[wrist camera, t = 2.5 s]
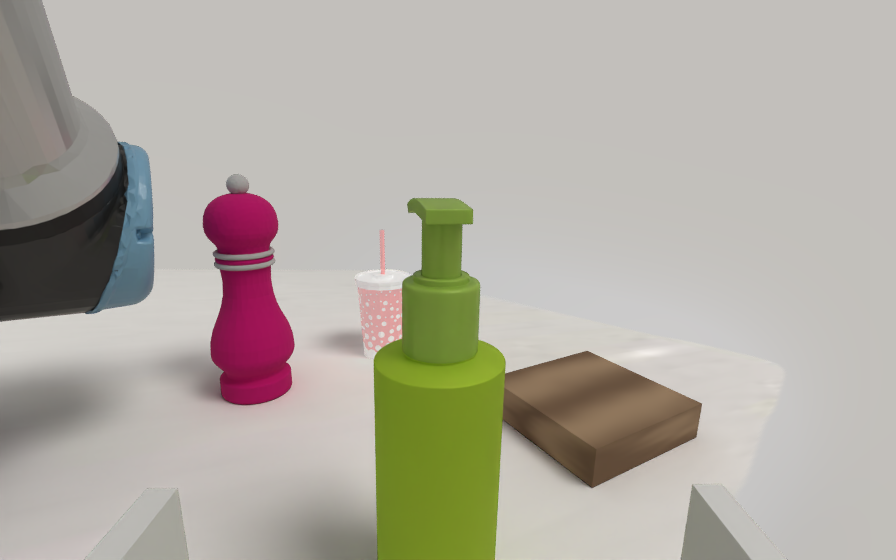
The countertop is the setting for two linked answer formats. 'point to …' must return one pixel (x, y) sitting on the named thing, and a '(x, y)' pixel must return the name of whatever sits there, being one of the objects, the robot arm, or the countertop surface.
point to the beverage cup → (380, 305)
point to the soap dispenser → (438, 408)
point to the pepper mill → (247, 298)
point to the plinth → (597, 415)
